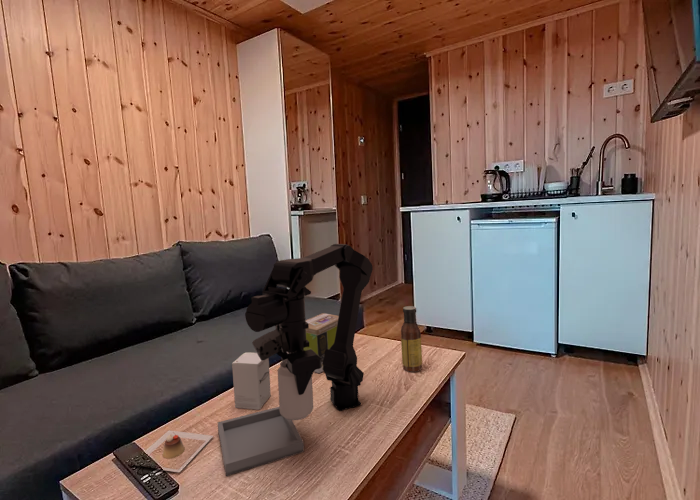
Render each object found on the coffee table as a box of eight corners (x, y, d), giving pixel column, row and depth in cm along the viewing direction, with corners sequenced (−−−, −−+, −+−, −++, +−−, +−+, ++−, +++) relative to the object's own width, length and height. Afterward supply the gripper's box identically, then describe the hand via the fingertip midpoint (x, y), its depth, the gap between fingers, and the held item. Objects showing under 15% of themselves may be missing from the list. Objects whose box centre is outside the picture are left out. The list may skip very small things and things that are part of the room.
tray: (284, 414, 95) (284, 405, 94) (303, 451, 80) (303, 441, 80) (218, 432, 88) (217, 422, 88) (226, 476, 74) (225, 464, 73)
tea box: (325, 351, 134) (323, 311, 132) (347, 357, 128) (346, 316, 126) (295, 367, 122) (293, 323, 120) (319, 374, 116) (317, 329, 114)
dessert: (214, 440, 86) (212, 420, 86) (179, 477, 75) (177, 455, 74) (169, 434, 89) (167, 415, 88) (129, 469, 77) (126, 448, 77)
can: (281, 405, 87) (278, 356, 85) (313, 402, 88) (311, 353, 86) (278, 424, 80) (275, 370, 78) (313, 421, 80) (311, 367, 79)
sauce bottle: (425, 366, 119) (424, 306, 117) (417, 374, 114) (417, 311, 112) (406, 362, 123) (405, 303, 120) (398, 370, 118) (397, 308, 115)
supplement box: (260, 410, 97) (257, 364, 95) (234, 408, 98) (230, 362, 97) (271, 396, 104) (269, 352, 103) (247, 394, 106) (244, 351, 104)
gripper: (246, 313, 86) (250, 377, 88) (265, 338, 69) (269, 417, 71) (292, 306, 91) (295, 367, 93) (321, 328, 74) (324, 402, 76)
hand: (295, 386), depth 83 cm, fingers closed on can, 7 cm apart
